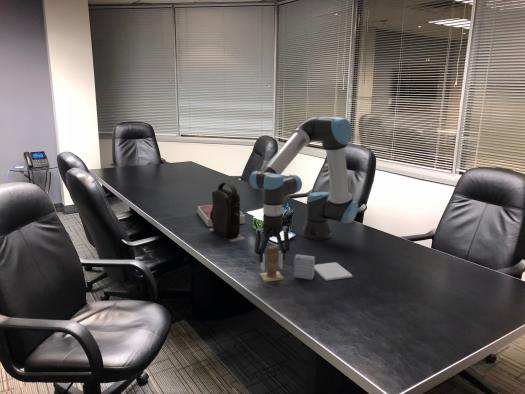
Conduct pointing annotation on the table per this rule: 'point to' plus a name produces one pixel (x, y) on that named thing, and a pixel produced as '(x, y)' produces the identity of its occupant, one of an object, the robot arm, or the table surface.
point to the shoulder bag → (226, 213)
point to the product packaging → (205, 215)
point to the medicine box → (304, 266)
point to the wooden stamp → (271, 266)
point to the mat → (331, 271)
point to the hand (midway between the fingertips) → (271, 268)
